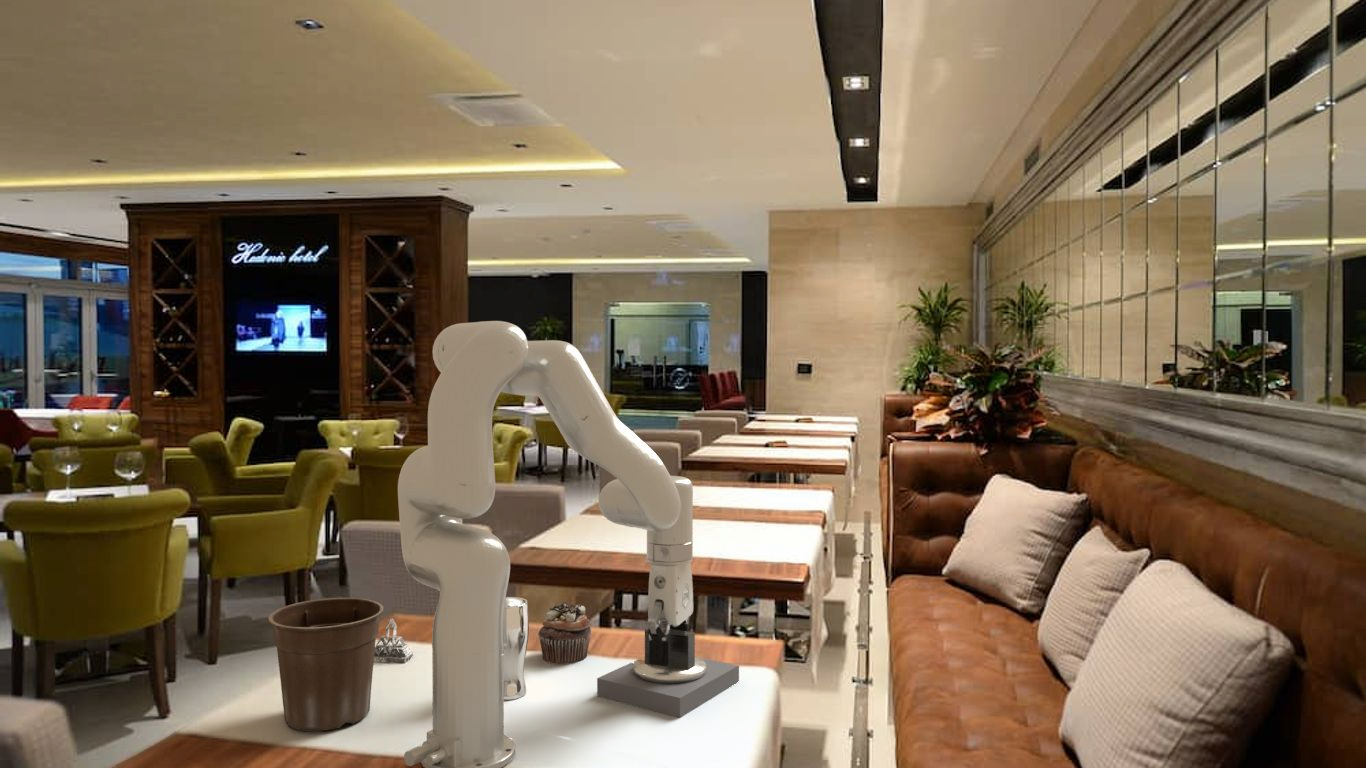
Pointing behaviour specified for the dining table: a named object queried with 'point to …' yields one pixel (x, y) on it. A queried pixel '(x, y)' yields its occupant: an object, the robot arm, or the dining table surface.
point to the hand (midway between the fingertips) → (669, 655)
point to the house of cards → (392, 648)
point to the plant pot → (326, 660)
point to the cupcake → (565, 634)
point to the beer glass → (515, 646)
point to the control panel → (667, 688)
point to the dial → (672, 660)
